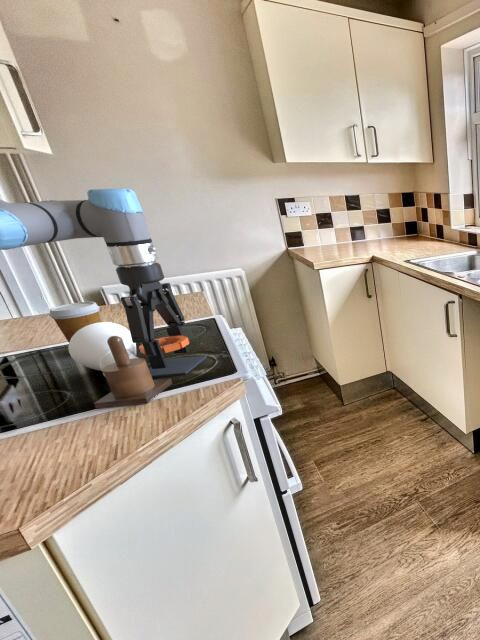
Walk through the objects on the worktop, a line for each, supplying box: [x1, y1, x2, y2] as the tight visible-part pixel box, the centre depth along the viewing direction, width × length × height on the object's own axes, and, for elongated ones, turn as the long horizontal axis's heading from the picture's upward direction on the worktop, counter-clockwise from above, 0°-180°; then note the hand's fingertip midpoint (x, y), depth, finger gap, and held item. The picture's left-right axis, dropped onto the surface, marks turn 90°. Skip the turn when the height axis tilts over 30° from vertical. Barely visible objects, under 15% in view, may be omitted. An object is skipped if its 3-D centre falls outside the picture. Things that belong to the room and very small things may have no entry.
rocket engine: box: [67, 321, 139, 377], centre depth 95 cm, size 12×12×18 cm
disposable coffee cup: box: [48, 301, 102, 343], centre depth 111 cm, size 10×10×12 cm
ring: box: [138, 334, 190, 356], centre depth 98 cm, size 9×9×1 cm
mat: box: [148, 355, 208, 379], centre depth 100 cm, size 10×10×1 cm
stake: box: [93, 336, 173, 410], centre depth 85 cm, size 9×9×13 cm
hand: (171, 359), depth 99 cm, fingers closed on ring, 8 cm apart
